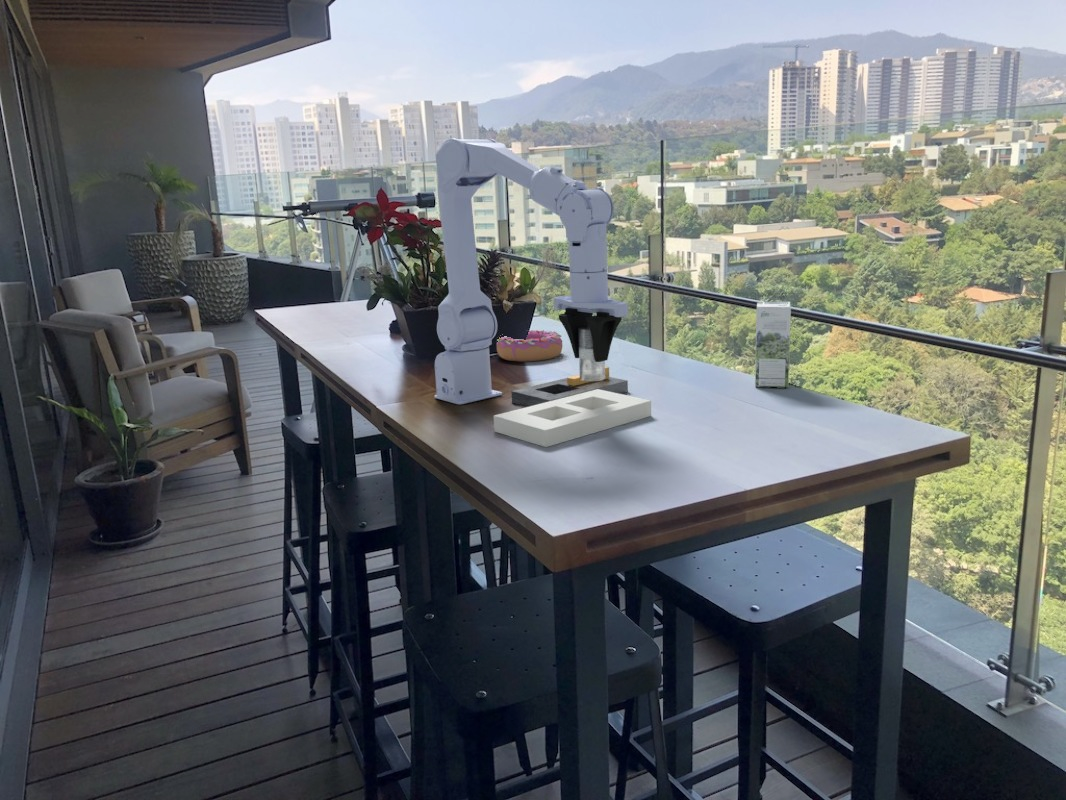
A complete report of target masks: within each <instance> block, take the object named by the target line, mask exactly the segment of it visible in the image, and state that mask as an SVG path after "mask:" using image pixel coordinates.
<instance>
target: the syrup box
mask: <svg viewBox="0 0 1066 800" xmlns="http://www.w3.org/2000/svg"><path fill="white" fill-rule="evenodd" d="M791 307H792V306H791V301H758V302H757V303H756V317H755V318H756V320H755V322H756V323H755V326H756V327H755V364H754V365H755V372H754V373H755V374H754V386H755V388H769V389H771V388H770V387H777V389H786V388H785V387H788V388H789V377H790V376H789V375H790V372H789V371H790V345H791V324H792V323H791V315H792V308H791Z"/></svg>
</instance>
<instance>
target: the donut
mask: <svg viewBox="0 0 1066 800" xmlns="http://www.w3.org/2000/svg"><path fill="white" fill-rule="evenodd" d="M528 331H529V332H528V335H527V337H526V340H524V339H513V338H511V337H507V336H504V337H501V338H500V337H499V336H498V337H499V339H497V338H496V352H497V354H498V356H499V357H500V358H501V359H503V360H506V361H509V362H510V361H511V362H525V363H526V362H540V361H547V360H552V359H554V358H557V357H559V356H561V355H560V354H561V353H562V350H563V340H562V338H561V337H562V335H561V334H559V333H558V332H556V331H551V330H537V329H536V330H535V329H532V330H531V329H530V330H528ZM497 341H498V342H497Z"/></svg>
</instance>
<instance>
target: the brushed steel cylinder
mask: <svg viewBox="0 0 1066 800" xmlns="http://www.w3.org/2000/svg"><path fill="white" fill-rule="evenodd" d="M578 340H579V358H578V361H579V362H578V363H579V364H578V365H579V366H578V367H579V369H578V370H579V375H580V380H583V381H600V380H604V379H605V367H606V361H601V362H595V359H594V352H593V340H592V335H591V331H590V328H589V326H582V327H579V328H578Z"/></svg>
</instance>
